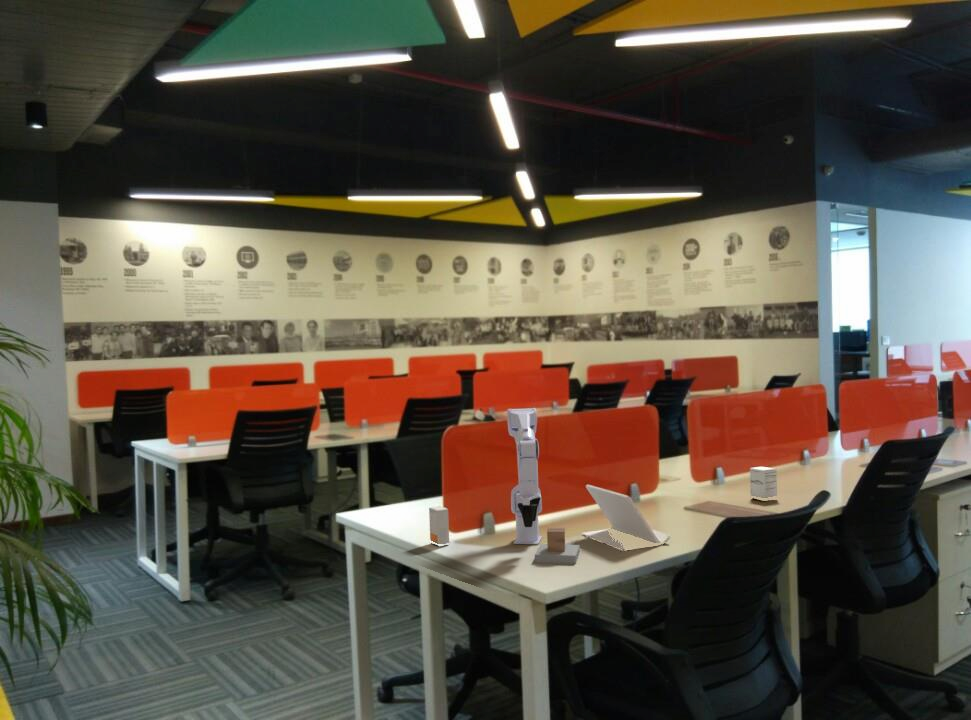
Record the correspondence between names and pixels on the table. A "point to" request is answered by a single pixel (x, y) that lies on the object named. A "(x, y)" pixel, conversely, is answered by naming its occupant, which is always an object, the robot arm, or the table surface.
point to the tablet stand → (622, 518)
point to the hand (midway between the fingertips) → (530, 523)
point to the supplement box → (763, 482)
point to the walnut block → (556, 539)
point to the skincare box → (439, 525)
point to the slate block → (557, 555)
